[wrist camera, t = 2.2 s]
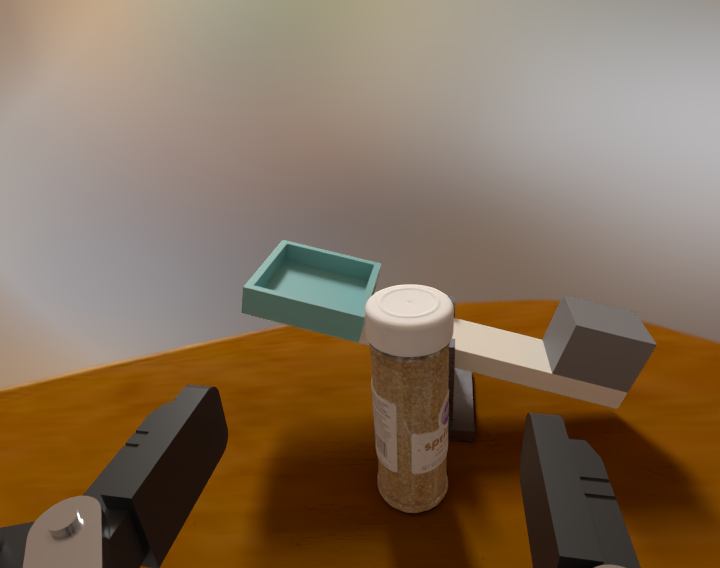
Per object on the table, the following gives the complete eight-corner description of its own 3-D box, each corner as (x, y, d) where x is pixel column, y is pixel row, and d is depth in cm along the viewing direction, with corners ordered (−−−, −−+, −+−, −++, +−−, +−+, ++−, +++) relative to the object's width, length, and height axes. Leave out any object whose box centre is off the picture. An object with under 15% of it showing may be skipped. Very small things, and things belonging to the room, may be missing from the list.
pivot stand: (470, 370, 40) (474, 293, 36) (473, 442, 33) (479, 354, 29) (399, 366, 41) (397, 291, 37) (388, 435, 34) (384, 349, 30)
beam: (592, 358, 37) (626, 297, 34) (625, 433, 30) (669, 364, 27) (278, 280, 39) (285, 216, 36) (240, 333, 32) (245, 259, 29)
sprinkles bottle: (451, 517, 28) (458, 325, 22) (374, 515, 28) (360, 325, 22) (445, 456, 32) (450, 279, 26) (377, 455, 32) (367, 281, 26)
